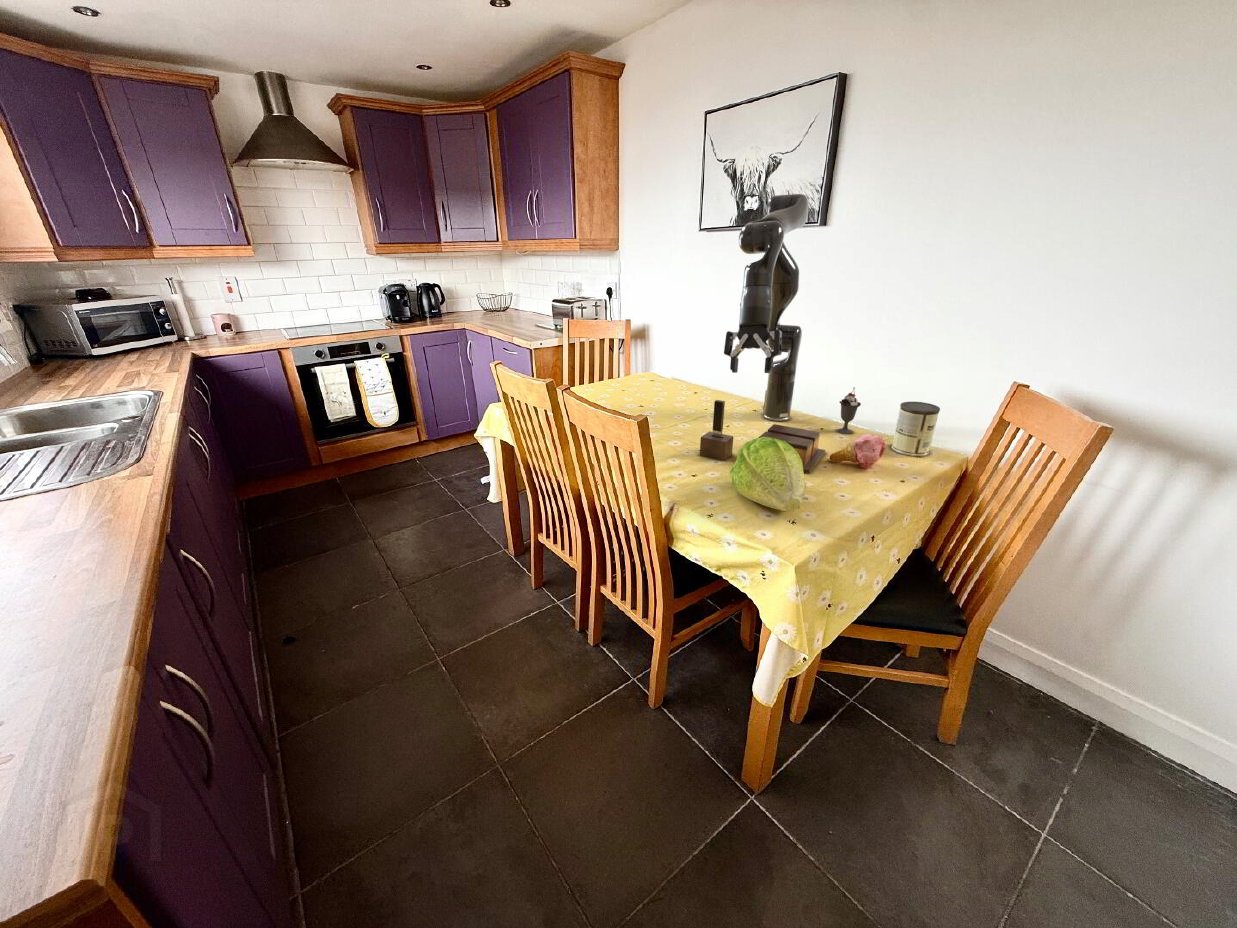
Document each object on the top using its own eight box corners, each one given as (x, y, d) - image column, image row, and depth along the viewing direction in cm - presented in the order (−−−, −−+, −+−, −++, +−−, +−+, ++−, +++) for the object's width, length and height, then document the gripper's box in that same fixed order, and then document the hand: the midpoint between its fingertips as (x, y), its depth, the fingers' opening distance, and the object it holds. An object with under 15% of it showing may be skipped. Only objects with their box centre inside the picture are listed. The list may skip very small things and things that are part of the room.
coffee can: (896, 441, 161) (906, 399, 155) (932, 449, 154) (944, 405, 149) (886, 450, 154) (896, 406, 148) (923, 459, 148) (935, 413, 142)
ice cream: (828, 465, 140) (886, 451, 133) (822, 438, 145) (878, 422, 138) (838, 484, 147) (893, 471, 140) (832, 457, 153) (885, 443, 146)
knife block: (699, 455, 152) (700, 437, 150) (707, 449, 156) (709, 431, 154) (724, 461, 148) (725, 442, 145) (732, 454, 152) (733, 436, 150)
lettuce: (747, 528, 114) (766, 475, 107) (720, 472, 135) (734, 425, 128) (816, 534, 116) (839, 482, 109) (779, 478, 137) (796, 432, 130)
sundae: (851, 428, 173) (859, 386, 167) (858, 435, 167) (866, 391, 161) (831, 428, 173) (838, 385, 167) (837, 434, 167) (845, 391, 161)
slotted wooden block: (747, 459, 148) (749, 437, 146) (767, 441, 162) (769, 421, 159) (809, 473, 139) (812, 450, 136) (825, 453, 153) (828, 431, 150)
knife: (710, 454, 152) (713, 401, 146) (712, 453, 154) (716, 399, 147) (719, 456, 151) (723, 402, 144) (721, 455, 152) (725, 401, 145)
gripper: (788, 308, 124) (782, 374, 127) (734, 310, 132) (729, 373, 134) (779, 303, 118) (773, 372, 120) (723, 306, 126) (718, 371, 128)
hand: (750, 372), depth 127 cm, fingers open, 8 cm apart
